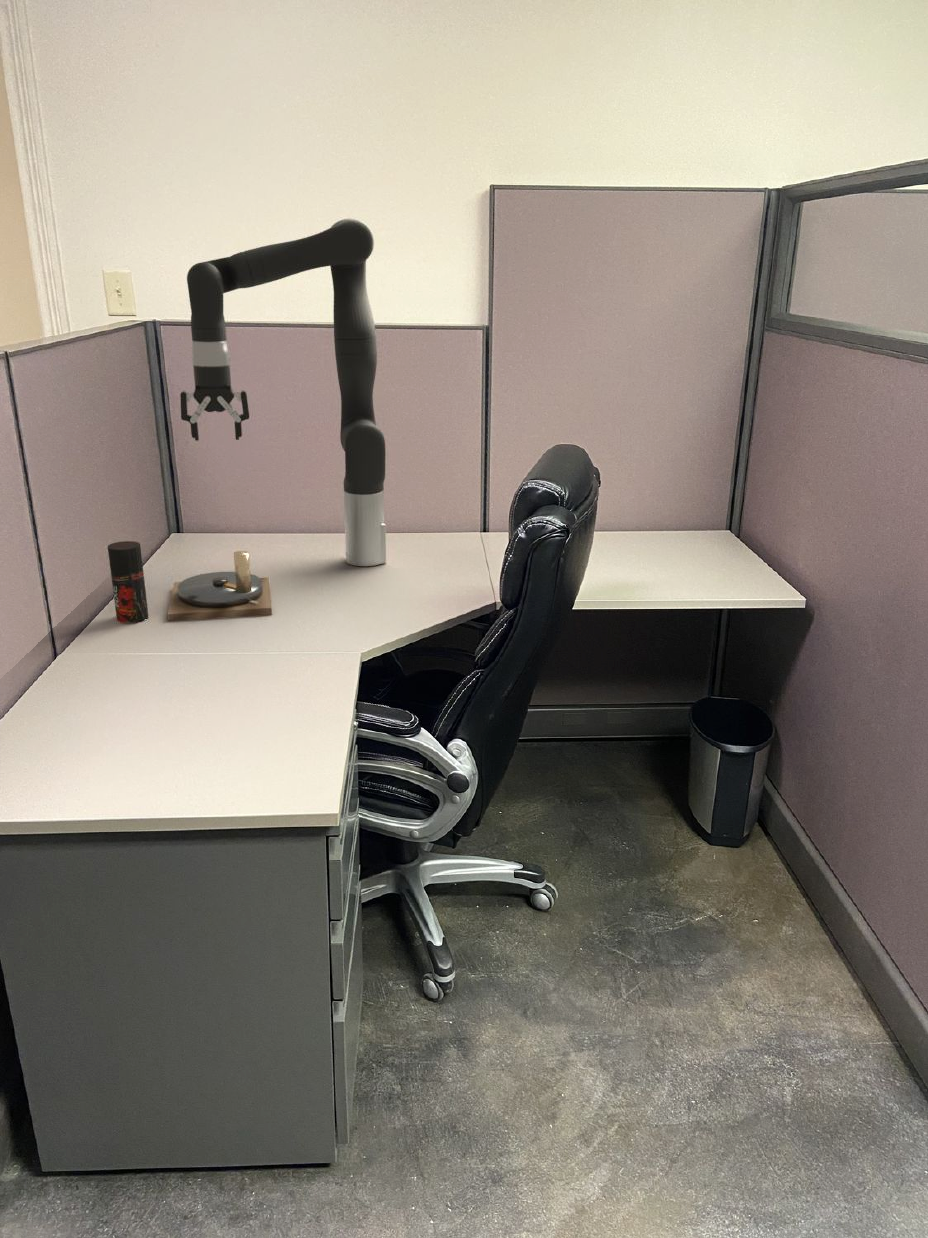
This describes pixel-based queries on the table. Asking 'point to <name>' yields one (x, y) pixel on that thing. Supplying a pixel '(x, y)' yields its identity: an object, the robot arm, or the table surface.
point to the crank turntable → (222, 586)
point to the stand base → (191, 612)
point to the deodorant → (128, 582)
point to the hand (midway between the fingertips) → (217, 439)
